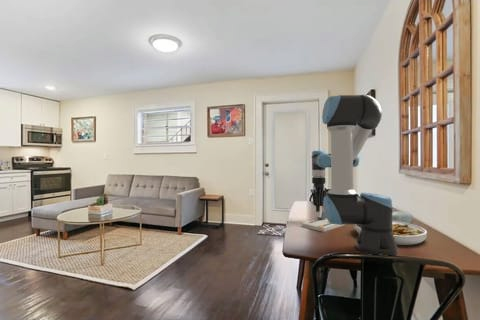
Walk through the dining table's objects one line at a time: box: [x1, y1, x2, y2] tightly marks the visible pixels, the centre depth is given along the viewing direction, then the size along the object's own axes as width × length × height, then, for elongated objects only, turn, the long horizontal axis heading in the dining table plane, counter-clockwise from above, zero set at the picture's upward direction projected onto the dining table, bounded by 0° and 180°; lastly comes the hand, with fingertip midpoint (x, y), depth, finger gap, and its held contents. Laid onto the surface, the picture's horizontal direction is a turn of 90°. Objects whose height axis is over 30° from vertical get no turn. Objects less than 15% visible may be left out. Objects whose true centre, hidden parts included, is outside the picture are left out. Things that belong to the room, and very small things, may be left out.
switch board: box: [301, 218, 344, 233], centre depth 146 cm, size 22×14×2 cm, turn 129°
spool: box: [392, 210, 414, 224], centre depth 143 cm, size 14×10×10 cm
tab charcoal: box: [316, 210, 326, 220], centre depth 152 cm, size 4×4×4 cm
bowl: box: [354, 221, 428, 246], centre depth 125 cm, size 30×30×8 cm
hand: (319, 216), depth 151 cm, fingers closed
